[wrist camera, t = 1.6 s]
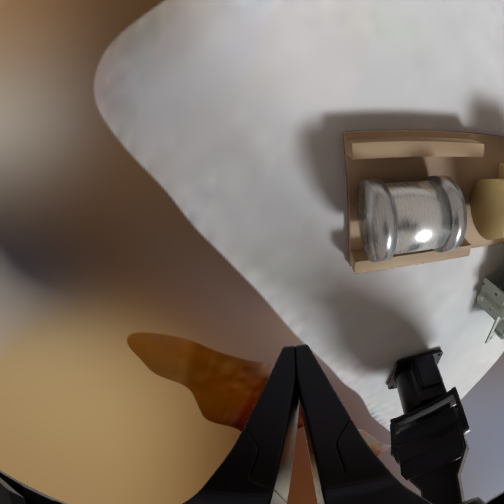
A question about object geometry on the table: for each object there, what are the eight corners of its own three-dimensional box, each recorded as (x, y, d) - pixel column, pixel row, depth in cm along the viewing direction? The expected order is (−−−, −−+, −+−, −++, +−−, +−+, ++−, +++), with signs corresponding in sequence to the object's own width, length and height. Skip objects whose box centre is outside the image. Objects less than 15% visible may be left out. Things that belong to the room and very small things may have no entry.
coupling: (427, 228, 18) (458, 265, 14) (356, 237, 19) (377, 279, 15) (432, 166, 16) (472, 191, 12) (355, 169, 17) (382, 198, 12)
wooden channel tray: (508, 238, 18) (548, 281, 12) (348, 262, 21) (372, 330, 15) (522, 139, 13) (578, 168, 7) (342, 131, 16) (384, 157, 10)
